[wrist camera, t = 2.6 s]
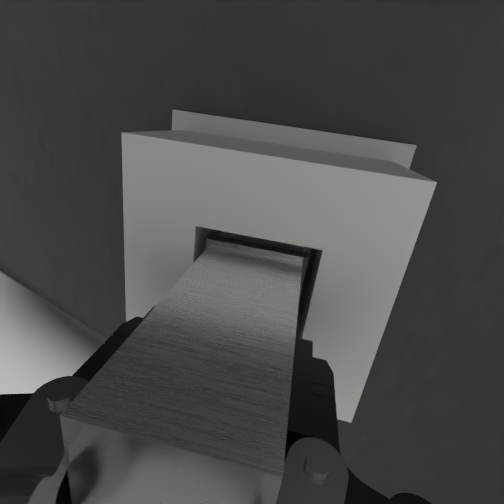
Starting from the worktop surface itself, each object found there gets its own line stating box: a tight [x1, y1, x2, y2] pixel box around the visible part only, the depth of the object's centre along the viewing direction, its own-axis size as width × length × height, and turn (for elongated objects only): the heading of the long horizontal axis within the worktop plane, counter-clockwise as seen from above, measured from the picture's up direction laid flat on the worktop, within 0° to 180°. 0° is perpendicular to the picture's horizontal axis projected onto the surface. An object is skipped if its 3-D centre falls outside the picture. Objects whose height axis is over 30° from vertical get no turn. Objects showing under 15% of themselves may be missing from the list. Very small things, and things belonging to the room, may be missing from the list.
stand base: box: [121, 110, 437, 422], centre depth 18 cm, size 14×14×9 cm
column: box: [60, 231, 309, 504], centre depth 14 cm, size 4×4×16 cm
